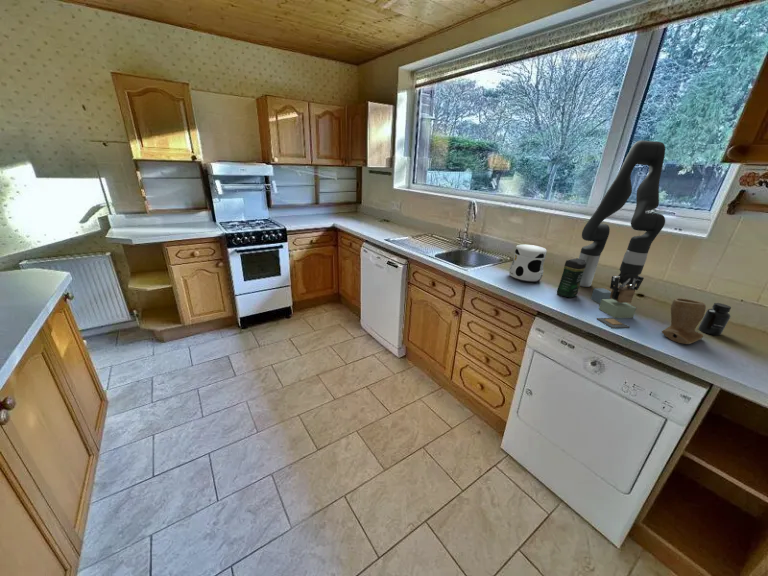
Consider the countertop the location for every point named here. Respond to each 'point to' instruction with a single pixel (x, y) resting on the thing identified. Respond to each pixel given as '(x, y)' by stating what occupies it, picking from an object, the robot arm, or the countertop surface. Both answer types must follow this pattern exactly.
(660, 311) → the countertop surface
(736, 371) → the countertop surface
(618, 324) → the tile
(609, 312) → the sage base block
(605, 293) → the blue-grey cube
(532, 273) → the milk container
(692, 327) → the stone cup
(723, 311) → the supplement bottle
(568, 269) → the coffee jar
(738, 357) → the countertop surface
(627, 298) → the walnut cube
